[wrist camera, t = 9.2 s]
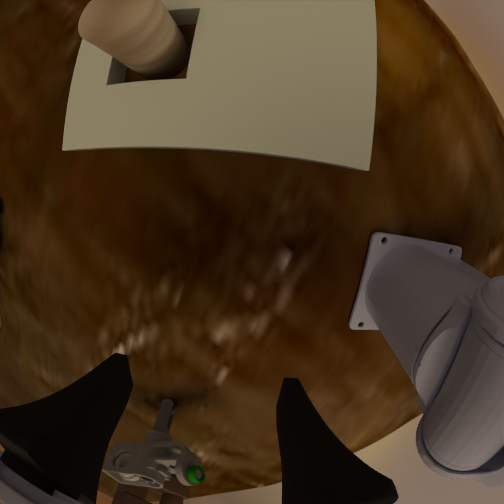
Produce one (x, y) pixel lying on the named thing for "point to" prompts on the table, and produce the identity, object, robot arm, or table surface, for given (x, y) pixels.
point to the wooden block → (173, 492)
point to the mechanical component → (154, 457)
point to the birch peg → (137, 36)
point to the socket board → (243, 85)
